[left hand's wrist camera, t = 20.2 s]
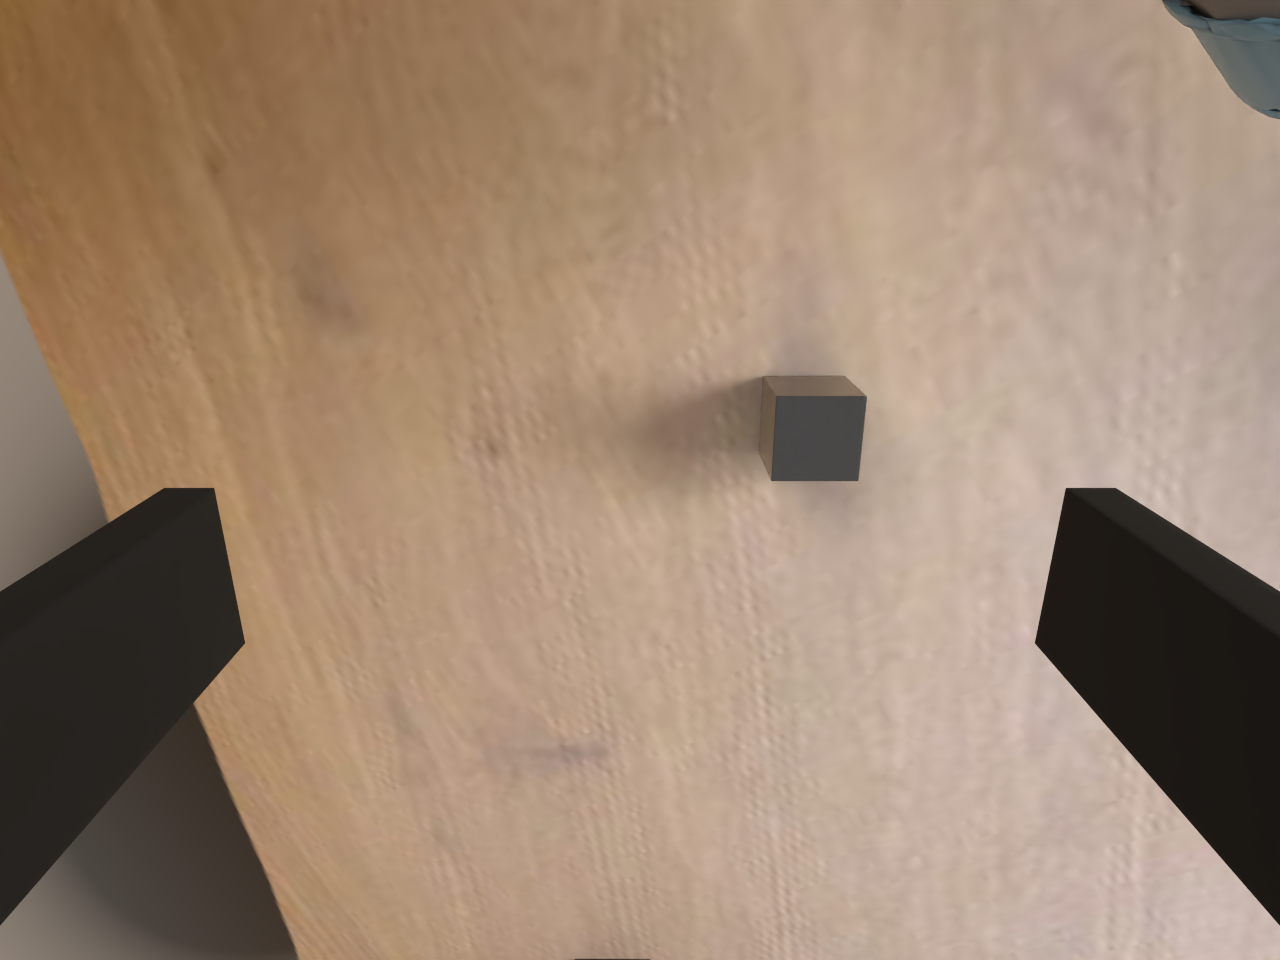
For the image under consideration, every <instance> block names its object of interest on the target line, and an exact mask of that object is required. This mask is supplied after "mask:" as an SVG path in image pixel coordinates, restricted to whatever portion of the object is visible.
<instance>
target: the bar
mask: <svg viewBox="0 0 1280 960" xmlns="http://www.w3.org/2000/svg"><path fill="white" fill-rule="evenodd" d="M575 960H638V959H575Z"/></svg>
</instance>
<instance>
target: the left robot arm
mask: <svg viewBox="0 0 1280 960" xmlns="http://www.w3.org/2000/svg"><path fill="white" fill-rule="evenodd" d="M1162 1H1163V3H1164V6H1165V8H1166V9H1167V10H1168V11H1169V13H1170V14H1171V15H1172V16H1173V17H1174V18H1175V19H1177V20H1178V21H1179V22H1181V23H1182V24H1183V25H1184V26H1187V27H1190V28H1191V29H1192V30H1193V32H1194V33H1195V35H1196V36H1197V38H1198V39H1199V41H1200V42H1201V44H1202V45H1203V47H1204V48H1205V50H1206V51H1207V53H1208V54H1209V56H1210V57H1211V59H1212V61H1213V62H1214V64H1215V65H1216V67H1217V68H1218V70H1219V71H1220V73H1221V74H1222V76H1223V77H1224V79H1225V80H1226V82H1227V83H1228V85H1229V86H1230V88H1231V89H1232V90H1233V91H1234V93H1235V94H1236V95H1237V96H1238V97H1239V98H1240V99H1241V100H1242V101H1243V102H1244V103H1246V104H1247V105H1249V106H1250V107H1252V108H1253V109H1255V110H1257V111H1258V112H1260V113H1262V114H1265V115H1267V116H1269V117H1273V118H1278V119H1280V0H1162ZM244 644H245V640H244V635H243V630H242V625H241V620H240V615H239V610H238V605H237V600H236V595H235V590H234V585H233V580H232V575H231V570H230V565H229V560H228V555H227V550H226V545H225V540H224V535H223V530H222V525H221V520H220V515H219V510H218V505H217V500H216V495H215V490H214V488H164V489H162V490H160V491H159V492H157V493H156V494H154V495H153V496H151V497H149V498H148V499H146V500H145V501H143V502H141V503H140V504H138V505H137V506H135V507H134V508H132V509H130V510H129V511H127V512H126V513H124V514H122V515H121V516H119V517H118V518H116V519H115V520H113V521H111V522H110V523H108V524H107V525H105V526H103V527H102V528H100V529H99V530H97V531H96V532H94V533H92V534H91V535H89V536H88V537H86V538H84V539H83V540H81V541H80V542H78V543H77V544H75V545H73V546H72V547H70V548H69V549H67V550H66V551H64V552H62V553H61V554H59V555H58V556H56V557H54V558H53V559H51V560H50V561H48V562H46V563H45V564H43V565H42V566H40V567H39V568H37V569H35V570H34V571H32V572H31V573H29V574H27V575H26V576H24V577H23V578H21V579H20V580H18V581H16V582H15V583H13V584H12V585H10V586H8V587H7V588H5V589H4V590H2V591H1V592H0V925H1V924H2V923H3V922H4V920H5V919H6V918H7V917H8V916H9V915H10V913H11V912H12V911H13V910H14V909H15V908H16V907H17V905H18V904H19V903H20V902H21V901H22V900H23V898H24V897H25V896H26V895H27V894H28V893H29V892H30V890H31V889H32V888H33V887H34V886H35V885H36V884H37V882H38V881H39V880H40V879H41V878H42V877H43V875H44V874H45V873H46V872H47V871H48V870H49V869H50V867H51V866H52V865H53V864H54V863H55V862H56V860H57V859H58V858H59V857H60V856H61V855H62V854H63V852H64V851H65V850H66V849H67V848H68V847H69V846H70V844H71V843H72V842H73V841H74V840H75V839H76V837H77V836H78V835H79V834H80V833H81V832H82V830H83V829H84V828H85V827H86V826H87V825H88V824H89V822H90V821H91V820H92V819H93V818H94V817H95V816H96V814H97V813H98V812H99V811H100V810H101V809H102V807H103V806H104V805H105V804H106V803H107V802H108V801H109V799H110V798H111V797H112V796H113V795H114V794H115V792H116V791H117V790H118V789H119V788H120V787H121V786H122V784H123V783H124V782H125V781H126V780H127V779H128V777H129V776H130V775H131V774H132V773H133V772H134V771H135V769H136V768H137V767H138V766H139V765H140V764H141V762H142V761H143V760H144V759H145V758H146V757H147V756H148V754H149V753H150V752H151V751H152V750H153V749H154V748H155V746H156V745H157V744H158V743H159V742H160V741H161V739H162V738H163V737H164V736H165V735H166V734H167V733H168V731H169V730H170V729H171V728H172V727H173V726H174V724H175V723H176V722H177V721H178V720H179V719H180V718H181V716H182V715H183V714H184V713H185V712H186V711H187V709H188V708H189V707H190V706H191V705H192V704H193V703H194V701H195V700H196V699H197V698H198V697H199V696H200V694H201V693H202V692H203V691H204V690H205V689H206V688H207V686H208V685H209V684H210V683H211V682H212V681H213V679H214V678H215V677H216V676H217V675H218V674H219V673H220V671H221V670H222V669H223V668H224V667H225V666H226V664H227V663H228V662H229V661H230V660H231V659H232V658H233V656H234V655H235V654H236V653H237V652H238V651H239V650H240V648H241V647H242V646H243V645H244ZM1035 644H1036V645H1037V646H1038V647H1039V648H1040V650H1041V651H1042V652H1043V653H1044V654H1045V655H1046V656H1047V658H1048V659H1049V660H1050V661H1051V662H1052V663H1053V664H1054V666H1055V667H1056V668H1057V669H1058V670H1059V671H1060V673H1061V674H1062V675H1063V676H1064V677H1065V678H1066V679H1067V681H1068V682H1069V683H1070V684H1071V685H1072V686H1073V688H1074V689H1075V690H1076V691H1077V692H1078V693H1079V694H1080V696H1081V697H1082V698H1083V699H1084V700H1085V701H1086V703H1087V704H1088V705H1089V706H1090V707H1091V708H1092V709H1093V711H1094V712H1095V713H1096V714H1097V715H1098V716H1099V718H1100V719H1101V720H1102V721H1103V722H1104V723H1105V724H1106V726H1107V727H1108V728H1109V729H1110V730H1111V731H1112V733H1113V734H1114V735H1115V736H1116V737H1117V738H1118V739H1119V741H1120V742H1121V743H1122V744H1123V745H1124V746H1125V748H1126V749H1127V750H1128V751H1129V752H1130V753H1131V754H1132V756H1133V757H1134V758H1135V759H1136V760H1137V761H1138V762H1139V764H1140V765H1141V766H1142V767H1143V768H1144V769H1145V771H1146V772H1147V773H1148V774H1149V775H1150V776H1151V777H1152V779H1153V780H1154V781H1155V782H1156V783H1157V784H1158V786H1159V787H1160V788H1161V789H1162V790H1163V791H1164V792H1165V794H1166V795H1167V796H1168V797H1169V798H1170V799H1171V801H1172V802H1173V803H1174V804H1175V805H1176V806H1177V807H1178V809H1179V810H1180V811H1181V812H1182V813H1183V814H1184V816H1185V817H1186V818H1187V819H1188V820H1189V821H1190V822H1191V824H1192V825H1193V826H1194V827H1195V828H1196V829H1197V831H1198V832H1199V833H1200V834H1201V835H1202V836H1203V837H1204V839H1205V840H1206V841H1207V842H1208V843H1209V844H1210V846H1211V847H1212V848H1213V849H1214V850H1215V851H1216V852H1217V854H1218V855H1219V856H1220V857H1221V858H1222V859H1223V860H1224V862H1225V863H1226V864H1227V865H1228V866H1229V867H1230V869H1231V870H1232V871H1233V872H1234V873H1235V874H1236V875H1237V877H1238V878H1239V879H1240V880H1241V881H1242V882H1243V884H1244V885H1245V886H1246V887H1247V888H1248V889H1249V890H1250V892H1251V893H1252V894H1253V895H1254V896H1255V897H1256V899H1257V900H1258V901H1259V902H1260V903H1261V904H1262V905H1263V907H1264V908H1265V909H1266V910H1267V911H1268V912H1269V914H1270V915H1271V916H1272V917H1273V918H1274V919H1275V920H1276V922H1277V923H1278V924H1279V925H1280V592H1279V591H1278V590H1276V589H1275V588H1273V587H1272V586H1270V585H1268V584H1267V583H1265V582H1264V581H1262V580H1260V579H1259V578H1257V577H1256V576H1254V575H1253V574H1251V573H1249V572H1248V571H1246V570H1245V569H1243V568H1241V567H1240V566H1238V565H1237V564H1235V563H1234V562H1232V561H1230V560H1229V559H1227V558H1226V557H1224V556H1222V555H1221V554H1219V553H1218V552H1216V551H1215V550H1213V549H1211V548H1210V547H1208V546H1207V545H1205V544H1203V543H1202V542H1200V541H1199V540H1197V539H1196V538H1194V537H1192V536H1191V535H1189V534H1188V533H1186V532H1184V531H1183V530H1181V529H1180V528H1178V527H1177V526H1175V525H1173V524H1172V523H1170V522H1169V521H1167V520H1165V519H1164V518H1162V517H1161V516H1159V515H1158V514H1156V513H1154V512H1153V511H1151V510H1150V509H1148V508H1146V507H1145V506H1143V505H1142V504H1140V503H1139V502H1137V501H1135V500H1134V499H1132V498H1131V497H1129V496H1127V495H1126V494H1124V493H1123V492H1121V491H1120V490H1118V489H1116V488H1066V490H1065V495H1064V500H1063V505H1062V510H1061V515H1060V520H1059V525H1058V530H1057V535H1056V540H1055V545H1054V550H1053V555H1052V560H1051V565H1050V570H1049V575H1048V580H1047V585H1046V590H1045V595H1044V600H1043V605H1042V610H1041V615H1040V620H1039V625H1038V630H1037V635H1036V640H1035Z"/></svg>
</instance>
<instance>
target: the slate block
mask: <svg viewBox="0 0 1280 960" xmlns="http://www.w3.org/2000/svg"><path fill="white" fill-rule="evenodd" d="M866 401H867V396H866V395H865V394H864V393H863V392H862V391H860V390H859V389H858V388H857V387H856V386H855V385H854V384H853V383H852V382H851V381H850V380H848V379H847V378H846V377H845V376H763V390H762V408H761V426H760V444H759V454H760V457H761V459H762V461H763V463H764V465H765V468H766V470H767V472H768V474H769V477H770V479H771V481H858V479H859V469H860V460H861V450H862V440H863V430H864V420H865V411H866Z"/></svg>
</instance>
